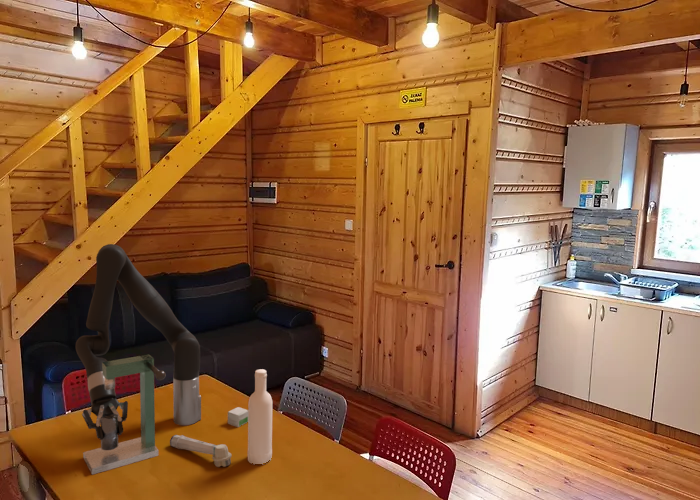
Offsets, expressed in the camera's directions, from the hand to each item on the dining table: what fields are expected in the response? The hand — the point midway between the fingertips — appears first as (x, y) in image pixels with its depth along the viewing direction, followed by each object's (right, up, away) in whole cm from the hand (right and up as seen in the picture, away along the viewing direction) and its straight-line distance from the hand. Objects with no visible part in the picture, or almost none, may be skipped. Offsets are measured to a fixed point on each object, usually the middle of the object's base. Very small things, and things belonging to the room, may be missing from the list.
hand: (111, 436), depth 163 cm
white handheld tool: (+27, -9, +6) cm, 29 cm away
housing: (-1, -4, +2) cm, 5 cm away
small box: (+34, -6, +31) cm, 46 cm away
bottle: (+47, -9, +5) cm, 48 cm away
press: (+4, -9, 0) cm, 10 cm away
